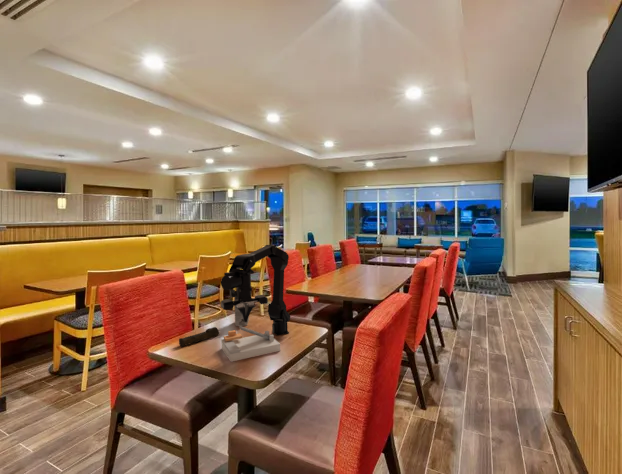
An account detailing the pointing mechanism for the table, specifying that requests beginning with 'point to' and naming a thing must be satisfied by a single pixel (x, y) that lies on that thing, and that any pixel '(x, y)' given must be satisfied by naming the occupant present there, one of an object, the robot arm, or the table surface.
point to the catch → (232, 336)
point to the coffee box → (239, 317)
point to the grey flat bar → (254, 332)
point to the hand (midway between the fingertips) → (245, 322)
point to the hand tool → (199, 336)
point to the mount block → (249, 347)
